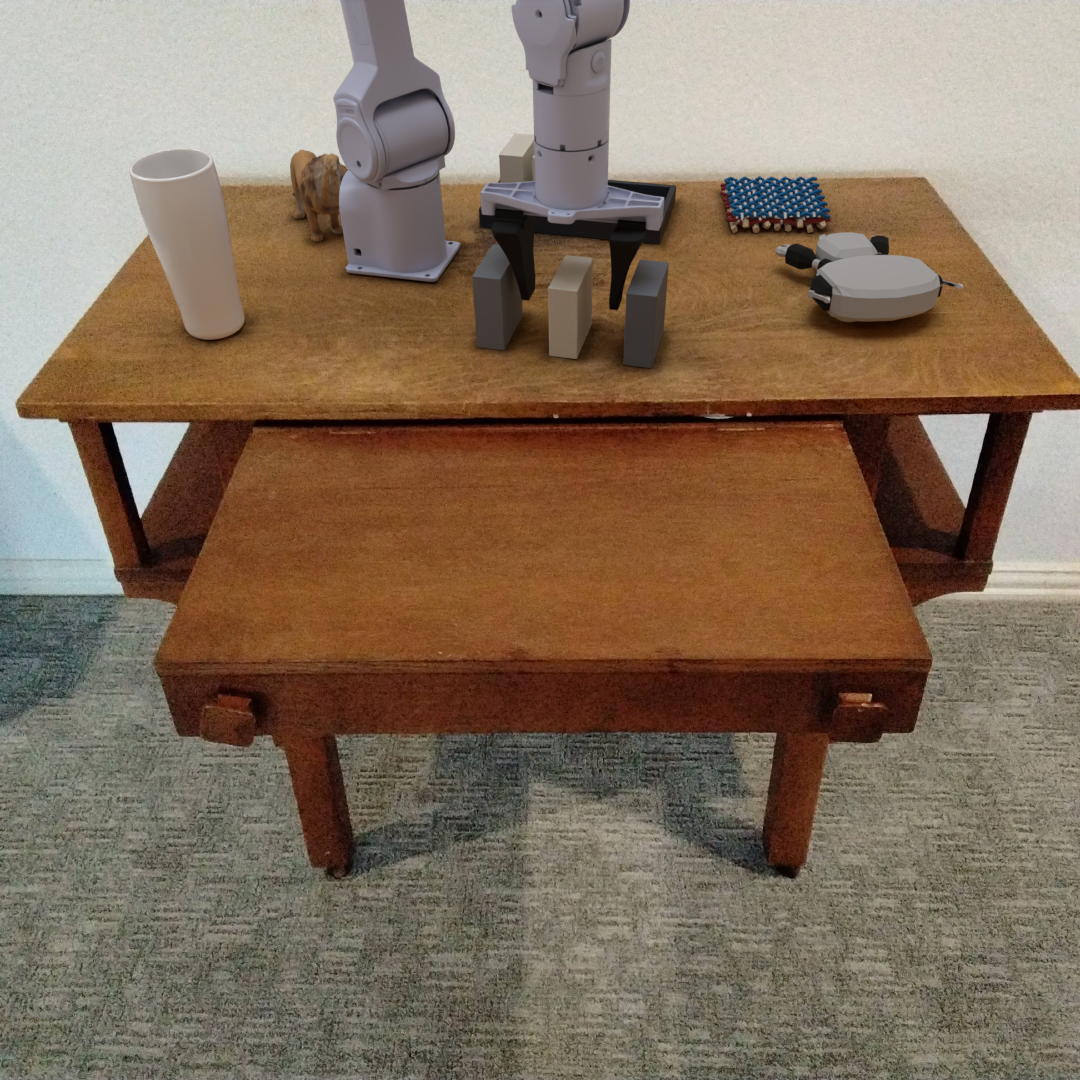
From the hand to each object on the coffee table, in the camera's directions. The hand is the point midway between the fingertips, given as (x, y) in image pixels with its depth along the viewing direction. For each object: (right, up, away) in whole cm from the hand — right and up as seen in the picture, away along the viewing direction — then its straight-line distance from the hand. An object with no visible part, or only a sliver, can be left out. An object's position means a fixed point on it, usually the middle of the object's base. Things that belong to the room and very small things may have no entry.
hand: (571, 299), depth 83 cm
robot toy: (+27, +2, +7) cm, 28 cm away
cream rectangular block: (0, -3, +3) cm, 4 cm away
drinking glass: (-32, -1, +6) cm, 33 cm away
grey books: (0, -3, +3) cm, 4 cm away
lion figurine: (-26, +13, +21) cm, 36 cm away
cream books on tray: (-3, +15, +22) cm, 27 cm away
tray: (+1, +14, +21) cm, 26 cm away
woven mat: (+22, +14, +21) cm, 34 cm away
